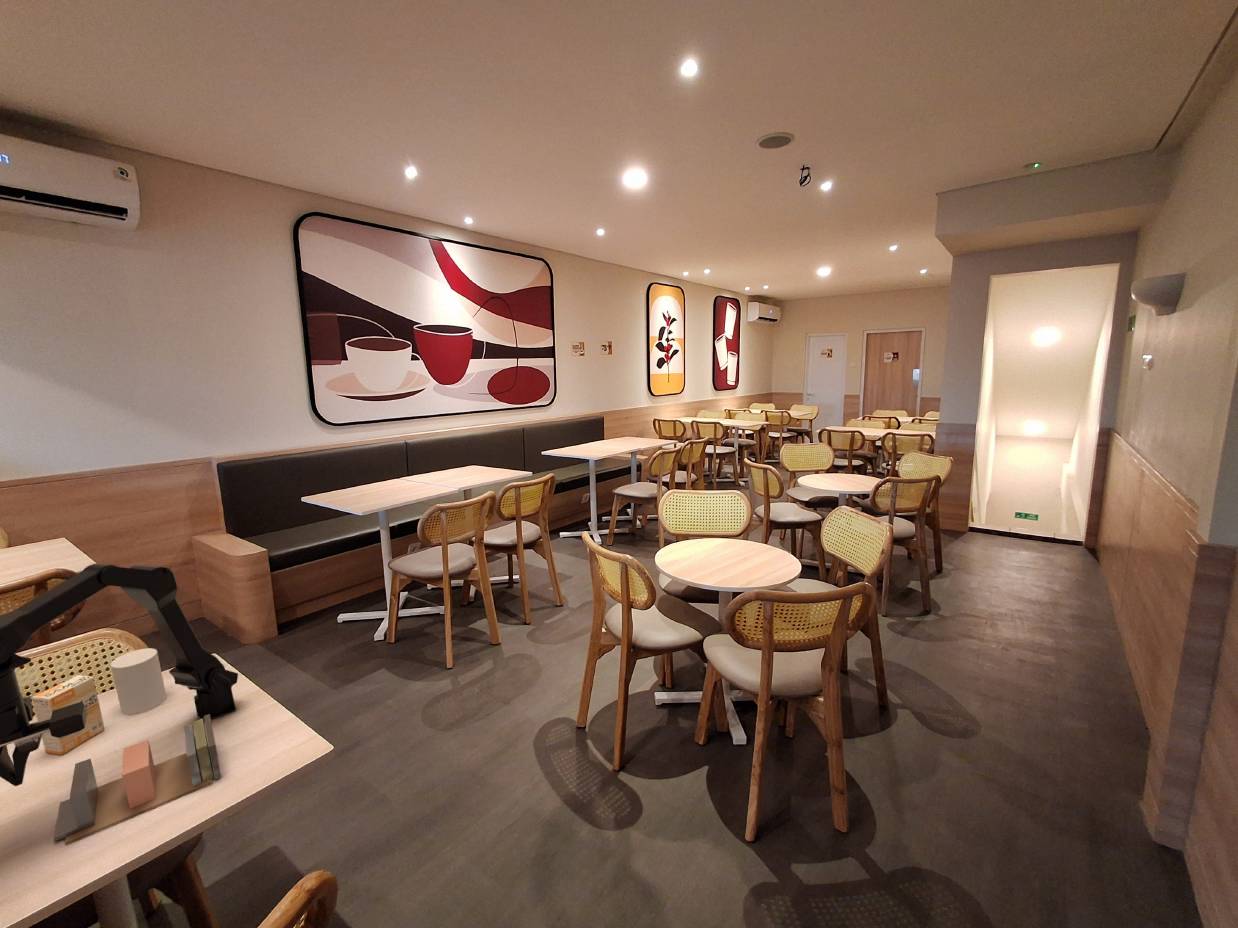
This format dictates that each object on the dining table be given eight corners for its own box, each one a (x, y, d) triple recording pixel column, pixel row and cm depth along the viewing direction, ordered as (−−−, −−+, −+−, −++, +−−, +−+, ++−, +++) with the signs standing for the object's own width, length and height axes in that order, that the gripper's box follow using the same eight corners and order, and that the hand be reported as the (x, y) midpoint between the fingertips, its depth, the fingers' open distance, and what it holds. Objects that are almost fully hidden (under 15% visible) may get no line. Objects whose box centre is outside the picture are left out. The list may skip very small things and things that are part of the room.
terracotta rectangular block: (155, 770, 107) (148, 739, 105) (155, 797, 100) (148, 765, 99) (131, 779, 105) (123, 748, 103) (130, 808, 98) (122, 775, 96)
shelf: (215, 744, 115) (209, 712, 113) (221, 779, 105) (215, 745, 103) (73, 798, 101) (64, 763, 99) (65, 845, 91) (55, 807, 90)
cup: (138, 694, 132) (128, 649, 130) (174, 691, 133) (165, 647, 130) (112, 716, 124) (100, 668, 122) (150, 713, 125) (140, 666, 123)
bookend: (98, 790, 102) (90, 758, 101) (94, 824, 94) (85, 790, 93) (60, 804, 99) (52, 771, 97) (53, 841, 91) (44, 806, 90)
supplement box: (62, 756, 112) (48, 699, 109) (44, 753, 113) (29, 697, 110) (107, 729, 120) (94, 675, 117) (89, 726, 121) (76, 673, 118)
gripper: (79, 659, 100) (98, 733, 103) (-80, 702, 88) (-54, 784, 91) (73, 686, 92) (94, 766, 95) (-104, 738, 80) (-74, 827, 83)
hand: (19, 783), depth 91 cm, fingers closed
